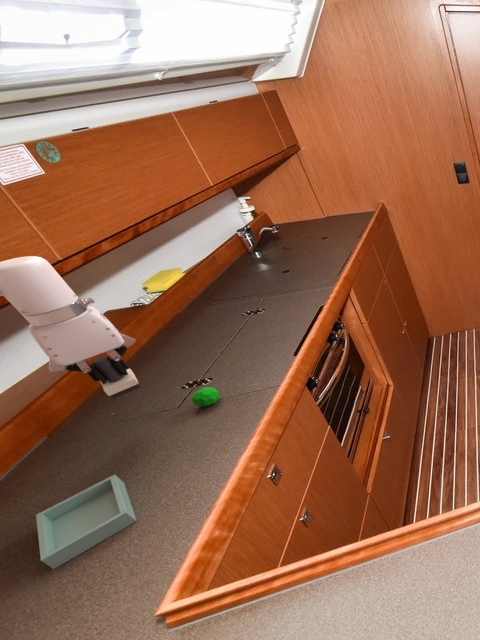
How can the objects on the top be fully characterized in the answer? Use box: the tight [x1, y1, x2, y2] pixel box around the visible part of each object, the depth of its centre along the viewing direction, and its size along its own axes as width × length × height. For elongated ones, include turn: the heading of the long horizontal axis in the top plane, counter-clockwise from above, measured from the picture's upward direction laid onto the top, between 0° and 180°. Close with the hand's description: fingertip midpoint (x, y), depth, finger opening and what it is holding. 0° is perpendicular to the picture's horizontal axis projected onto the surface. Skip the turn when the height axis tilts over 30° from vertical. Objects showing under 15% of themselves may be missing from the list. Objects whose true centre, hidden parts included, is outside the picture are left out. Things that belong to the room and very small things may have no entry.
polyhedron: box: [191, 386, 220, 408], centre depth 108 cm, size 5×5×5 cm
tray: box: [35, 474, 137, 570], centre depth 81 cm, size 15×11×3 cm
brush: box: [90, 355, 141, 399], centre depth 95 cm, size 7×5×9 cm
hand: (114, 376), depth 95 cm, fingers closed on brush, 2 cm apart
